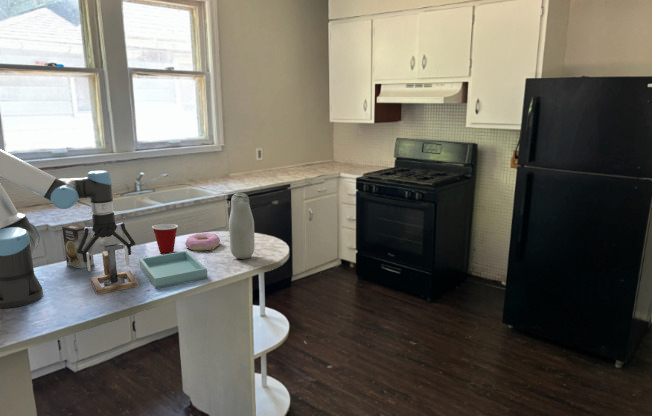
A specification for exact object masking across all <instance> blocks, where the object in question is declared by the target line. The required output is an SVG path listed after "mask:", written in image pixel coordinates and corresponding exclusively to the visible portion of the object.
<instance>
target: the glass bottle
mask: <svg viewBox="0 0 652 416" xmlns="http://www.w3.org/2000/svg"><path fill="white" fill-rule="evenodd" d="M230 204H231V207H230V215H229V218H228V219H229V220H228V233H229V247H230V248H229V249H230V252H231V254H232V256H233V257H235V258H237V259H239V260H240V259H241V260H245V259H249V258H251V257H252V255H253V254H254V251H255V245H256V244H255V220H254V216H253V212H252V209H251V205H250V198H249V195H248V194H247V193H243V192H236V193H234V194H233V195H232V196H231V201H230Z"/></svg>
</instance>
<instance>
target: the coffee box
mask: <svg viewBox="0 0 652 416" xmlns="http://www.w3.org/2000/svg"><path fill="white" fill-rule="evenodd" d="M84 227H91V226H90V225H85V224H79V223H73V224H68V225H67V224H66V225H64V226H62V227H61V228H62V236H63V244H64V253H65V261H66V265H67V266H71V267H73V268H77V267H78V269H84V268H87V262H85V263H84V261H83V255H82V254H78V253H77V251H76V250H77V248H78V245H79V243H80V241H81V238H82V236H83V234H84ZM91 238H92V231H91V232H90V233H88V237H87V239H86V241H85V244H84V246H83V248H82V250H83V249H84V248H85V246H86V245H87V244H88V242H89V241H90V240H91ZM88 254H89V260H90V266H92V265H94V264H95V260H94V251H93V246H92V247H91V248H90V249H89V251H88Z"/></svg>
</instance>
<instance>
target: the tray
mask: <svg viewBox="0 0 652 416" xmlns="http://www.w3.org/2000/svg"><path fill="white" fill-rule="evenodd" d="M138 261H139V262H138V263H139V269H140V270H141V271H142V273H143V274H144V275H145V277H146V278H147V279H148V280H149V282H150V284H151V285H152V286H153V287H154V289H161V288H165V287H170V286H176V285H181V284H185V283H190V282H196V281H200V280H205V279H208V268H207V267H205V266H204V265H203V264H202V263H201V262H200V261H199V260H198V259H197V258H195V256H193V255H192V254H191V253H190V252H189V251H188V250H182V251H177V252H172V253H169V254H160V255H154V256H148V257H141V258H138Z"/></svg>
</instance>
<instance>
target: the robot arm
mask: <svg viewBox="0 0 652 416" xmlns="http://www.w3.org/2000/svg"><path fill="white" fill-rule="evenodd" d="M0 177H1V178H3V179H5V180H7V181H9V182H11V183H14V184H15V185H17V186H19V187H22V188H24V189H25V190H28V191H29V192H31V193H33V194H36V195H38V196H40V197H42V198H44V199H46V200H48V201H50V202H51V203H52V205H53V206H55V208H58V209H60V210H66V209H70V208H71V207H73V206H74V205H76V204H77V202H78V200H80V199H90V211H91V213H92V214H91V216H92V227H91V226H90V227H84V234H83V236H82V238H81V241H80V243H79V245H78V248H77V250H76V251H77V253H78V254H82V255H83V261H84V263H85V262H87V267H86V269H87V270H88V272H90V271H92V270H91V265H90V260H89V254H88V251H89V249H90V248H91V247H92V248H93V245H95V243H96V241H97V240H98V239H99V238H101V239H103V238H108V237H109V238H110V237H112V236H113V237H114V238H116V239H117V240H118V241H120V243H122V244H123V245H124V246H123V249H124V257H125V264H127V265H130V258H129V256H130V255H132V249H131V248H132V247H133V246H135V245H136V242H135V240H134V239H133V237H132V236H131V235H130V233H129V232H128V230H127V229H126V225H125V223H124V222H123V221H121V222H120V223H116V220H115V219H116V218H115V213H114V211H115V208H114V197H113V188H112V186H113V185H112V181H111V180H112V179H111V174H110V172H109V171H107V170H91V171H89V172H88V173H87V176H86V177H71V178H70V177H68V178H64V177H62V178H57V177H56V176H54V175H52V174H50V173H48V172H45V171H44V170H42V169H40V168H38V167H36V166H34V165H33V164H30V163H28V162H27V161H25V160H22V159H20V158H19V157H16V155H15V156H14V155H13V154H11V153H9V152H7V151H4V150H2V148H0ZM117 228H119V230H121V231H122V232H123V234H124V235H125V236H126V238H127V239H128V241H129V242H128V241H127V240H125V238H123V236H121V235H120V234H119V233H118V232H116V231H117ZM90 232H91V233H92V232H93V233H94V234H92V236H91V240H90V241H89V242H88V244H87V245H86V246H85V248H84V249H83V250H82V248H83V246H84V244H85V241H86V239H87V237H88V233H90ZM40 238H41V236H40V231H39V229H38V227H36V225H34V224H33V223H32V222H30V220H29V219H28V217H27V216H26V214H24V213H21V212H18V210H17V208H16V206H15V205H14V202H12V199H11V198H10V196H9V195H8V193H7V191H6V189H5V187H4V186H3V185H2V183H1V182H0V309H10V308H19V307H23V306H26V305H29V304H32V303H34V302H37V301H38V300H40V299H41V298H42V297H43V296H44V289H43V286H42V285H41V283H40V281H39V279H38V278H37V276H36V275H35V271H34V263H33V253H34V252H35V251H36V250H37V248H38V247H39V245H40V240H41V239H40Z"/></svg>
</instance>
